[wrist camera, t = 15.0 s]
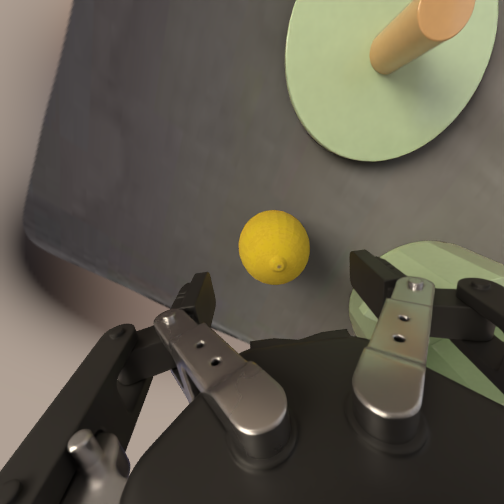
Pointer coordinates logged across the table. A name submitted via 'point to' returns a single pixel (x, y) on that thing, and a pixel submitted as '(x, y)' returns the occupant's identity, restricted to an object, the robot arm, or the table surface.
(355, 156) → the lid
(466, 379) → the pot
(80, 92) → the table surface
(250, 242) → the lemon
